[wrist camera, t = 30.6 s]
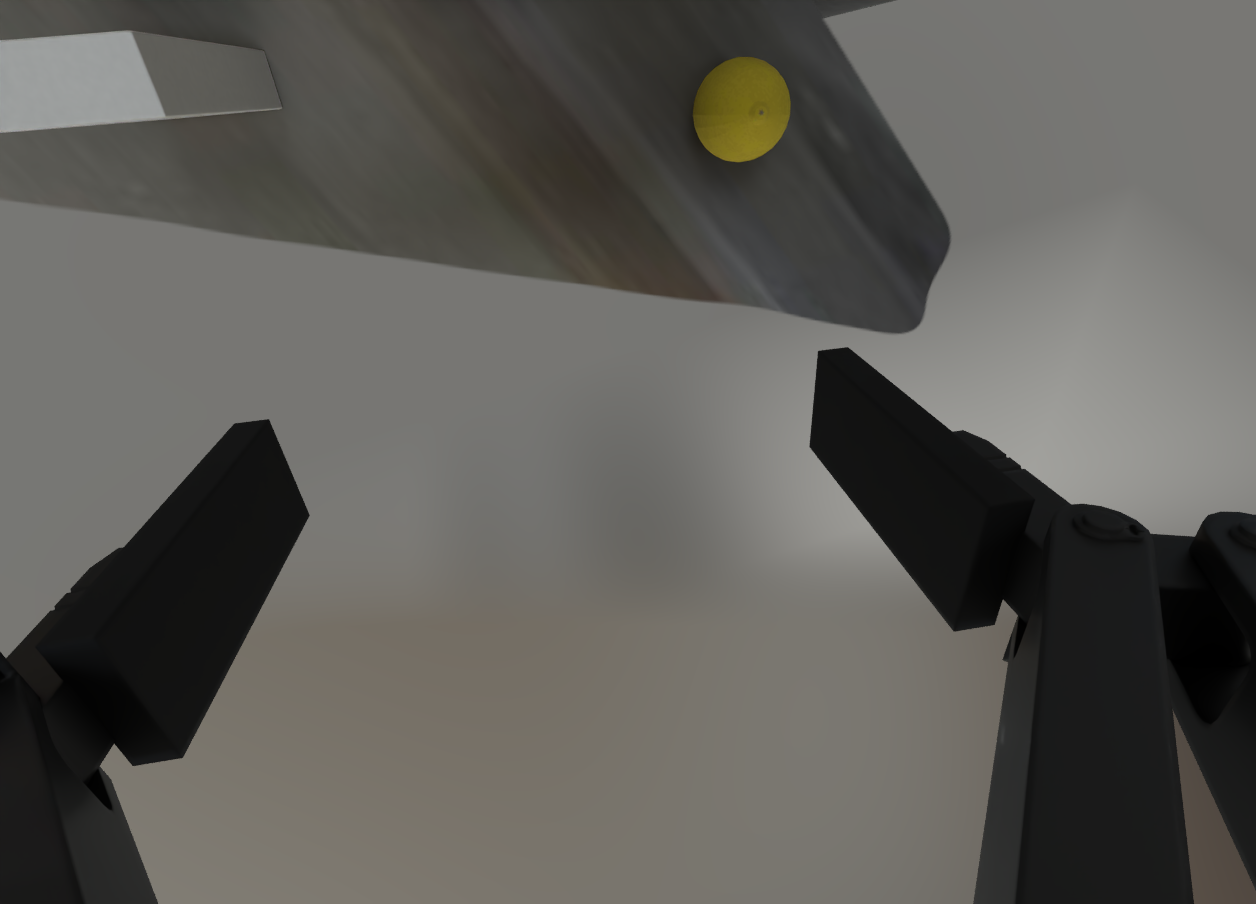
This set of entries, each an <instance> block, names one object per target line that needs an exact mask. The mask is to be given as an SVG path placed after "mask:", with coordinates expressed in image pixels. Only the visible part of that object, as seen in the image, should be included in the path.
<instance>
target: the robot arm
mask: <svg viewBox="0 0 1256 904" xmlns="http://www.w3.org/2000/svg"><path fill="white" fill-rule="evenodd" d="M810 448H811V449H812V451H813V452H814V453H815V454H816V456H817V457H818V458H819V460H820V461H821V462H822V463H823V465H824V466H825V467H826V468H827V470H828V471H829V472H830V474H831V475H832V476H833V478H834V479H835V480H836V481H837V483H838V484H839V485H840V487H841V488H842V489H843V490H844V491H845V493H846V494H847V495H848V497H849V498H850V499H851V501H852V502H853V503H854V504H855V506H856V507H857V508H858V510H859V511H860V512H861V513H862V515H863V516H864V517H865V518H866V520H867V521H868V522H869V523H870V525H871V526H872V527H873V529H874V530H875V531H876V533H878V535H879V536H880V538H881V539H882V540H883V542H884V543H885V544H886V545H887V547H888V548H889V549H890V550H891V552H892V553H893V554H894V556H895V557H896V558H897V559H898V561H899V562H900V563H901V565H902V566H903V567H904V568H905V570H906V571H907V572H908V573H909V575H910V576H911V577H912V579H913V580H914V581H915V582H916V584H917V585H918V586H919V588H920V589H921V590H922V591H923V593H924V594H925V595H926V597H927V598H928V599H929V600H930V602H931V603H932V604H933V605H934V606H935V608H936V609H937V611H938V612H939V613H940V614H941V616H942V617H943V618H944V619H945V621H946V622H947V623H948V625H949V626H950V627H951V628H952V630H953V631H960V630H966V629H972V628H979V627H985V626H991V625H995V622H996V618H997V616H998V612H999V609H1000V606H1001V603H1002V600H1004V601H1006V603H1007V604H1008V605H1009V606H1010V607H1011V608H1012V609H1013V610H1014V611H1015V612H1016V614H1017V615H1018V617H1017V620H1016V623H1015V625H1014V628H1013V632H1012V634H1011V637H1010V640H1009V643H1008V646H1007V649H1006V651H1005V654H1004V657H1003V660H1004V661H1007V662H1008V668H1007V675H1006V682H1005V688H1004V695H1003V703H1002V709H1001V716H1000V723H999V730H998V737H997V744H996V751H995V758H994V764H993V772H992V778H991V785H990V792H989V799H988V806H987V813H986V820H985V827H984V833H983V840H982V848H981V854H980V861H979V868H978V876H977V882H976V889H975V896H974V903H973V904H1194V900H1193V892H1192V882H1191V874H1190V864H1189V855H1188V846H1187V837H1186V828H1185V819H1184V810H1183V802H1182V793H1181V784H1180V774H1179V765H1178V757H1177V747H1176V738H1175V729H1174V720H1173V711H1174V713H1175V715H1176V717H1177V720H1178V722H1179V724H1180V726H1181V728H1182V730H1183V733H1184V735H1185V737H1186V739H1187V741H1188V743H1189V746H1190V748H1191V750H1192V752H1193V754H1194V756H1195V759H1196V761H1197V763H1198V765H1199V767H1200V770H1201V772H1202V774H1203V776H1204V778H1205V781H1206V783H1207V785H1208V787H1209V789H1210V791H1211V794H1212V796H1213V798H1214V800H1215V802H1216V804H1217V807H1218V809H1219V811H1220V813H1221V815H1222V817H1223V820H1224V822H1225V824H1226V826H1227V829H1228V831H1229V833H1230V835H1231V837H1232V839H1233V842H1234V844H1235V846H1236V848H1237V850H1238V852H1239V855H1240V857H1241V859H1242V861H1243V863H1244V866H1245V868H1246V870H1247V872H1248V874H1249V876H1250V879H1251V881H1252V883H1253V885H1254V887H1255V890H1256V515H1252V514H1247V513H1241V512H1218V513H1215V514H1211V515H1208V516H1207V517H1206V518H1205V520H1204V521H1203V522H1202V524H1201V526H1200V528H1199V530H1198V532H1197V534H1196V536H1195V537H1190V536H1175V535H1158V534H1150V532H1149V530H1148V529H1146V528H1145V527H1144V526H1143V525H1141V524H1140V523H1139V522H1138V521H1137V520H1135V519H1133V518H1131V517H1129V516H1127V515H1125V514H1123V513H1121V512H1118V511H1115V510H1112V509H1109V508H1105V507H1102V506H1096V505H1087V504H1074V505H1071V504H1070V503H1068V502H1067V501H1066V500H1065V499H1063V498H1062V497H1060V496H1059V495H1058V494H1057V493H1056V492H1054V491H1053V490H1052V489H1050V488H1049V487H1048V486H1046V485H1045V484H1044V483H1042V482H1041V481H1040V480H1038V479H1037V478H1036V477H1034V476H1033V475H1032V474H1031V473H1029V472H1028V471H1027V470H1025V469H1021V466H1020V465H1019V464H1018V463H1016V462H1015V461H1014V460H1012V459H1011V458H1007V457H1006V454H1005V453H1003V452H1002V451H1001V450H999V449H998V448H997V447H995V446H994V445H993V444H992V443H990V442H989V441H987V440H985V439H982V438H980V437H978V436H975V435H973V434H971V433H968V432H966V431H964V430H962V431H955V432H952V431H951V430H949V429H948V428H947V427H946V426H945V425H943V424H942V423H941V422H940V421H938V420H937V419H936V418H935V417H933V416H932V415H931V414H930V413H928V412H927V411H926V410H925V409H924V408H922V407H921V406H920V405H918V404H917V403H916V402H915V401H914V400H912V399H911V398H910V397H909V396H907V395H906V394H905V393H904V392H903V391H901V390H900V389H899V388H898V387H896V386H895V385H894V384H893V383H891V382H890V381H889V380H888V379H886V378H885V377H884V376H883V375H882V374H880V373H879V372H878V371H877V370H875V369H874V368H873V367H872V366H870V365H869V364H868V363H867V362H865V361H864V360H863V359H862V358H861V357H859V356H858V355H857V354H856V353H854V352H853V351H852V350H851V349H849V348H848V347H847V348H839V349H830V350H822V351H818V359H817V369H816V380H815V393H814V403H813V414H812V425H811V436H810ZM308 517H309V513H308V510H307V508H306V506H305V503H304V501H303V499H302V496H301V494H300V492H299V489H298V487H297V484H296V482H295V480H294V477H293V475H292V473H291V470H290V468H289V465H288V463H287V461H286V458H285V456H284V454H283V451H282V449H281V447H280V444H279V442H278V440H277V437H276V435H275V433H274V430H273V428H272V425H271V423H270V421H269V419H267V420H259V421H252V422H244V423H235V424H234V425H233V426H232V427H231V428H230V429H229V430H228V431H227V432H226V434H225V435H224V436H223V437H222V438H221V439H220V440H219V441H218V443H217V444H216V445H215V446H214V447H213V448H212V449H211V450H210V452H209V453H208V454H207V455H206V456H205V457H204V458H203V459H202V460H201V462H200V463H199V464H198V465H197V466H196V467H195V468H194V470H193V471H192V472H191V473H190V474H189V475H188V476H187V477H186V478H185V480H184V481H183V482H182V483H181V484H180V485H179V486H178V487H177V489H176V490H175V491H174V492H173V493H172V494H171V495H170V496H169V497H168V499H167V500H166V501H165V502H164V503H163V504H162V505H161V506H160V508H159V509H158V510H157V511H156V512H155V513H154V514H153V515H152V516H151V518H150V519H149V520H148V521H147V522H146V523H145V524H144V526H143V527H142V528H141V529H140V530H139V531H138V532H137V533H136V534H135V536H134V537H133V538H132V539H131V540H130V541H129V542H128V543H127V544H126V546H125V547H123V548H118V549H117V550H115V551H114V552H112V553H111V554H110V555H108V556H106V557H105V558H104V559H103V560H101V561H99V562H98V563H96V564H95V565H94V566H92V567H91V568H89V570H88V571H87V572H86V573H85V574H84V575H83V576H82V577H81V578H80V579H79V581H77V583H76V584H75V585H74V586H73V587H72V588H71V593H66V594H65V595H64V597H63V598H62V599H61V600H60V601H59V602H58V603H57V604H56V605H55V610H53V611H50V612H49V613H48V614H47V615H46V616H45V617H44V618H43V619H42V620H41V621H40V623H39V624H38V625H37V626H36V627H35V628H34V629H33V630H32V631H31V632H30V633H29V634H28V635H27V637H26V638H25V639H24V640H23V641H22V642H21V643H20V644H19V645H18V646H17V647H16V649H15V650H14V651H13V652H12V653H11V654H10V655H9V656H8V657H7V658H5V657H4V656H3V655H2V653H1V652H0V904H158V902H157V899H156V897H155V894H154V892H153V889H152V886H151V883H150V881H149V878H148V876H147V873H146V870H145V868H144V865H143V862H142V860H141V857H140V854H139V852H138V849H137V847H136V844H135V841H134V839H133V836H132V834H131V831H130V828H129V825H128V823H127V820H126V818H125V815H124V812H123V810H122V807H121V805H120V802H119V800H118V797H117V794H116V791H115V789H114V786H113V783H112V781H111V779H110V778H109V776H108V775H107V774H106V773H105V772H104V771H103V770H102V768H101V767H100V765H101V763H102V761H103V760H104V758H105V757H106V755H107V754H108V752H109V750H110V749H111V747H112V746H113V744H115V745H116V746H117V747H118V749H119V750H120V751H121V752H122V753H123V755H124V756H125V757H126V758H127V759H128V761H129V762H130V763H131V764H132V766H136V765H142V764H148V763H155V762H160V761H167V760H173V759H178V758H183V756H184V754H185V753H186V751H187V749H188V747H189V745H190V743H191V741H192V739H193V737H194V735H195V733H196V732H197V729H198V728H199V726H200V724H201V722H202V720H203V718H204V716H205V714H206V712H207V711H208V709H209V707H210V705H211V703H212V701H213V699H214V697H215V695H216V693H217V691H218V689H219V688H220V686H221V684H222V682H223V680H224V678H225V676H226V674H227V672H228V670H229V668H230V666H231V665H232V663H233V661H234V659H235V657H236V655H237V653H238V651H239V649H240V647H241V646H242V644H243V642H244V640H245V638H246V636H247V634H248V632H249V630H250V628H251V626H252V625H253V623H254V621H255V619H256V617H257V615H258V613H259V611H260V609H261V607H262V605H263V603H264V602H265V600H266V598H267V596H268V594H269V592H270V590H271V588H272V586H273V584H274V582H275V581H276V579H277V577H278V575H279V573H280V571H281V569H282V567H283V565H284V563H285V561H286V560H287V557H288V556H289V554H290V552H291V550H292V548H293V546H294V544H295V542H296V540H297V538H298V537H299V535H300V533H301V531H302V529H303V527H304V525H305V523H306V521H307V519H308ZM1172 709H1173V711H1172Z"/></svg>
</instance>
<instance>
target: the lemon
mask: <svg viewBox="0 0 1256 904" xmlns="http://www.w3.org/2000/svg"><path fill="white" fill-rule="evenodd" d="M790 105H791V102H790V96H789V91H788V88H787V86H786V83H785V81H784V79H783V78H782V76H781V75H780V74H779V72H778V71H777V70H776V69H775V68H774V67H772V66H771V65H770V64H768V63H767V62H765V61H763V60H760V59H757V58H754V57H737V58H734V59H730V60H727V61H725V62H723V63H722V64H720V65H718V66H717V67H715V68H714V69H713V70H712V71H711V72H710V73H709V74H708V75H707V76H706V77H705V78H704V80H703V82H702V84H701V85H700V87H699V89H698V91H697V94H696V98H695V101H694V108H693V119H694V126H695V129H696V132H697V135H698V137H699V139H700V141H701V142H702V144H703V145H704V147H705V148H706V149H707V150H709V151H710V152H711V153H712V154H713V155H714V156H717V157H719V158H721V159H723V160H726V161H733V162H743V161H750V160H753V159H755V158H757V157H759V156H762V155H764V154H765V153H766V152H767V151H769V150H770V149H771V148H773V147H774V145H775V144H776V143H777V142H778V141H779V139H780V138H781V137H782V135H783V133H784V131H785V129H786V127H787V124H788V120H789V116H790Z"/></svg>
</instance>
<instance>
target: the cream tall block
mask: <svg viewBox="0 0 1256 904" xmlns="http://www.w3.org/2000/svg"><path fill="white" fill-rule="evenodd" d="M276 109H282V105H281V102H280V99H279V96H278V93H277V89H276V86H275V83H274V80H273V77H272V74H271V71H270V68H269V64H268V61H267V58H266V55H265V52H264V50H259V49H252V48H245V47H239V46H232V45H225V44H219V43H212V42H205V41H198V40H192V39H185V38H178V37H171V36H165V35H158V34H151V33H144V32H138V31H131V30H125V31H113V32H100V33H87V34H75V35H62V36H49V37H37V38H24V39H12V40H0V133H4V132H17V131H29V130H41V129H54V128H66V127H79V126H91V125H103V124H116V123H128V122H140V121H153V120H165V119H176V118H187V117H198V116H209V115H221V114H232V113H243V112H254V111H265V110H276Z"/></svg>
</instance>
